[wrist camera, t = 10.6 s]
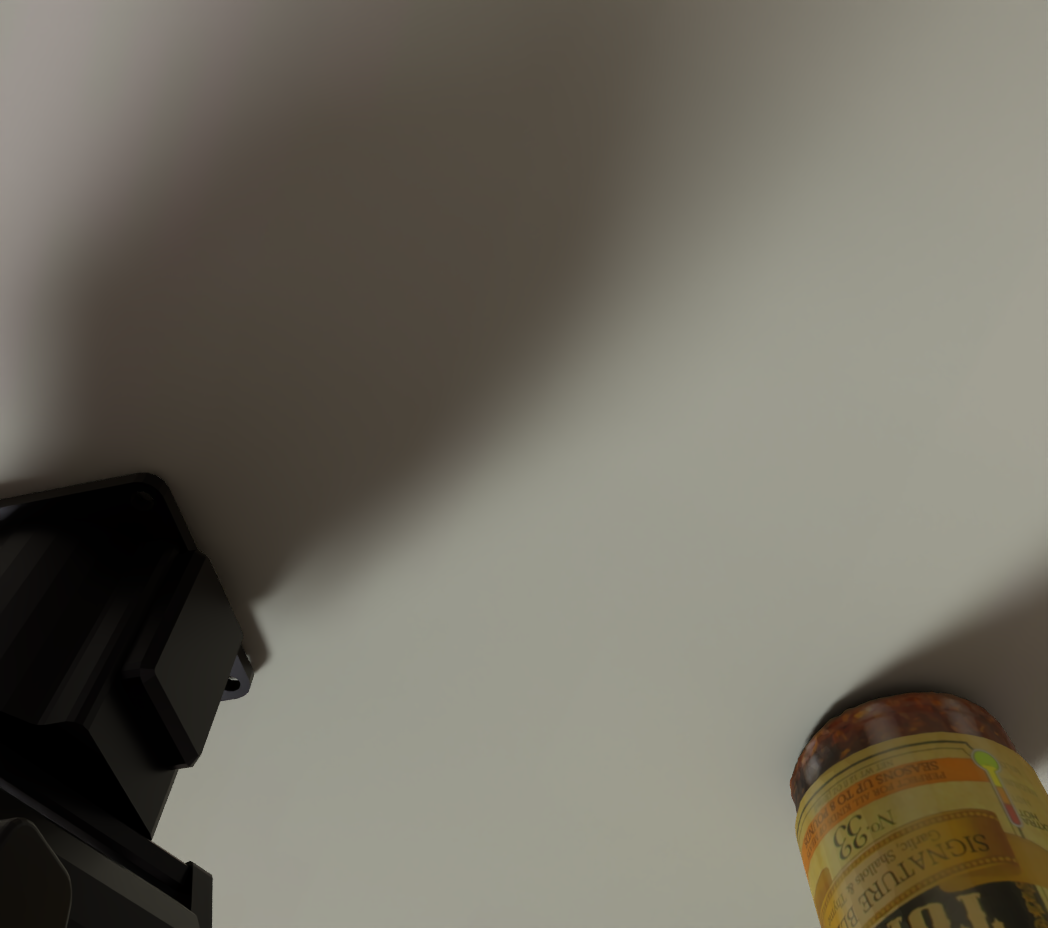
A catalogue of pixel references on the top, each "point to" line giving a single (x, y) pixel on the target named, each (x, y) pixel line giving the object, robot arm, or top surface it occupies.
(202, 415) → the top surface
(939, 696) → the sauce bottle
